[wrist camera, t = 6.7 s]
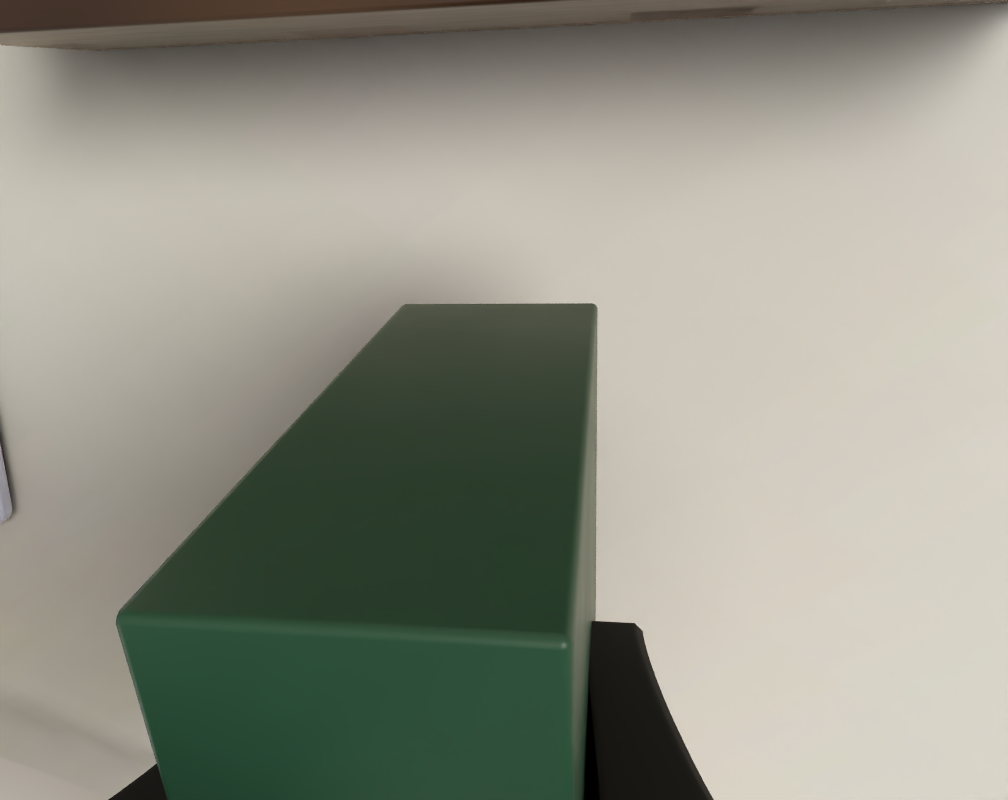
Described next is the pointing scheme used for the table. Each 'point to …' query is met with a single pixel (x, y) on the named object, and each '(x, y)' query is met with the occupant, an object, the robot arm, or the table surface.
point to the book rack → (354, 18)
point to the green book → (394, 580)
